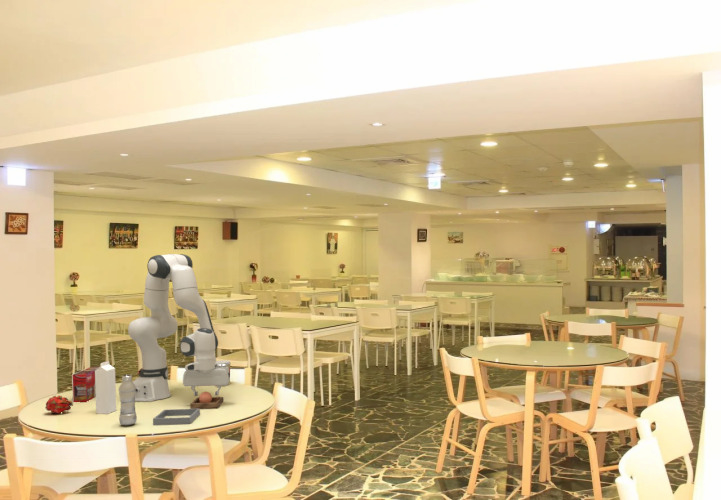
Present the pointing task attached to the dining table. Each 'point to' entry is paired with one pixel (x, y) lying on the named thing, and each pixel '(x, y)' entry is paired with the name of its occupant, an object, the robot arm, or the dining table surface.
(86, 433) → the dining table surface
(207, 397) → the ball
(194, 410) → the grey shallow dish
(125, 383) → the plastic bottle
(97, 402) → the milk
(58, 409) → the dragon fruit
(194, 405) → the tray
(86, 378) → the ice cream box
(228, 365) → the coffee cup
